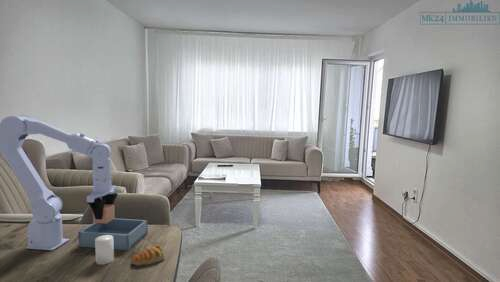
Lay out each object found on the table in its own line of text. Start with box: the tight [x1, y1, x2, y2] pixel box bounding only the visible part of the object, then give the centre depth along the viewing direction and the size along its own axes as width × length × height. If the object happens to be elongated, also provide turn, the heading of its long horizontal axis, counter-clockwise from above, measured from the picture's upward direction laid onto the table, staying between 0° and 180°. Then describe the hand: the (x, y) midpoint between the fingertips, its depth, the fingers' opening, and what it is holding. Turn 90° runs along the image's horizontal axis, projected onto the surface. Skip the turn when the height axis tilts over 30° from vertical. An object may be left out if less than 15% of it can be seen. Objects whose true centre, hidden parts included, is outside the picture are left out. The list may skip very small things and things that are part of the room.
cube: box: [92, 204, 116, 224], centre depth 106 cm, size 5×5×5 cm
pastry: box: [130, 244, 166, 267], centre depth 93 cm, size 9×7×4 cm
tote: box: [77, 217, 149, 251], centre depth 107 cm, size 18×14×5 cm
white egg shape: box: [94, 235, 115, 265], centre depth 92 cm, size 5×5×7 cm
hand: (103, 216), depth 106 cm, fingers closed on cube, 5 cm apart
